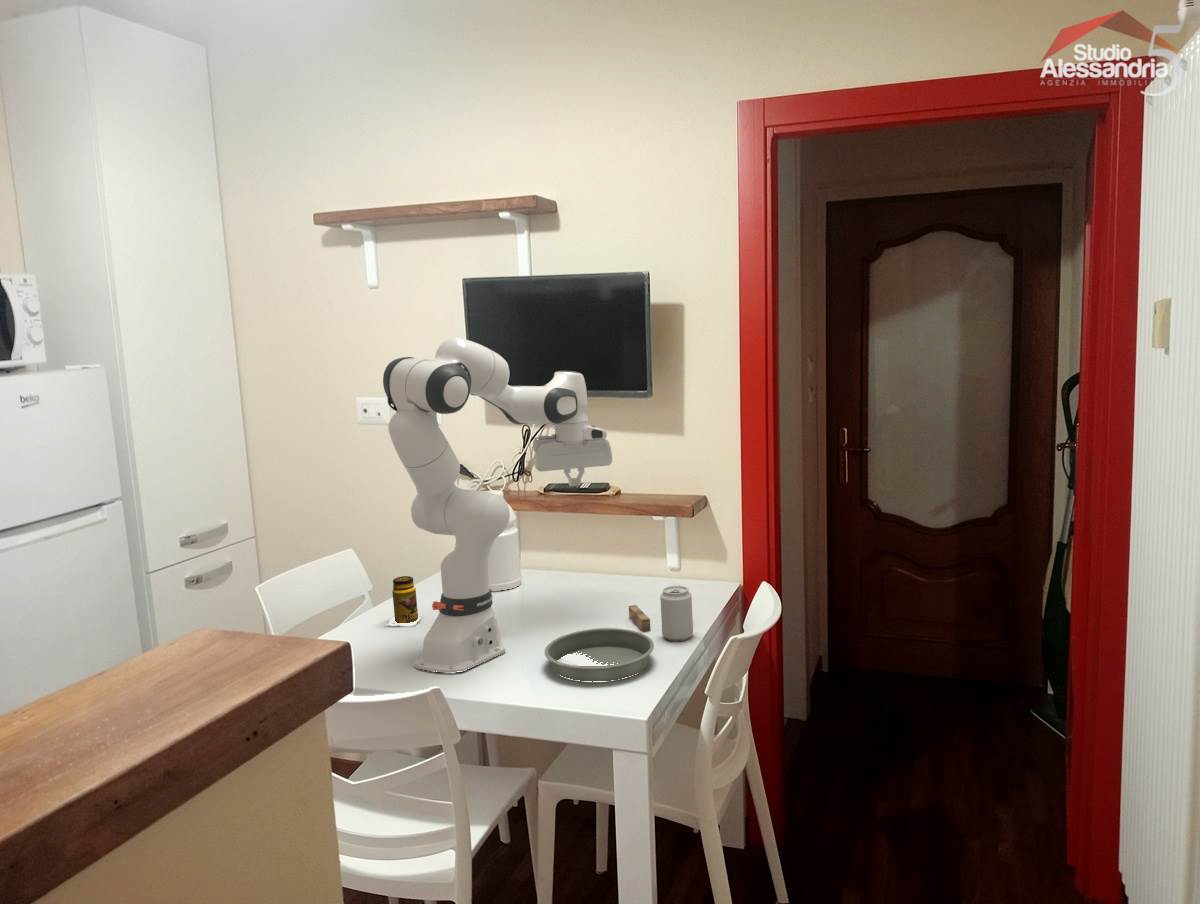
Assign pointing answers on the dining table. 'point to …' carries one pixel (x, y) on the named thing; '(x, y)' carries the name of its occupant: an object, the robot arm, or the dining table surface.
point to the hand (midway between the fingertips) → (574, 485)
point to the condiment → (404, 600)
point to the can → (676, 613)
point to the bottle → (505, 556)
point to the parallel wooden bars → (639, 618)
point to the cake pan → (601, 653)
